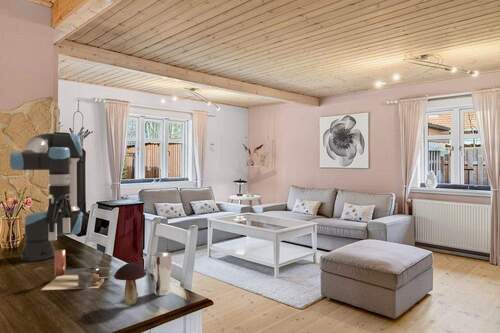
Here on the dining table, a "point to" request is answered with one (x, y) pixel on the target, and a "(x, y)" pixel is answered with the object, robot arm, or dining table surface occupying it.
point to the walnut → (94, 277)
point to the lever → (61, 268)
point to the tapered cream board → (74, 282)
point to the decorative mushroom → (130, 280)
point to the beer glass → (162, 273)
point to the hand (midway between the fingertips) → (59, 236)
